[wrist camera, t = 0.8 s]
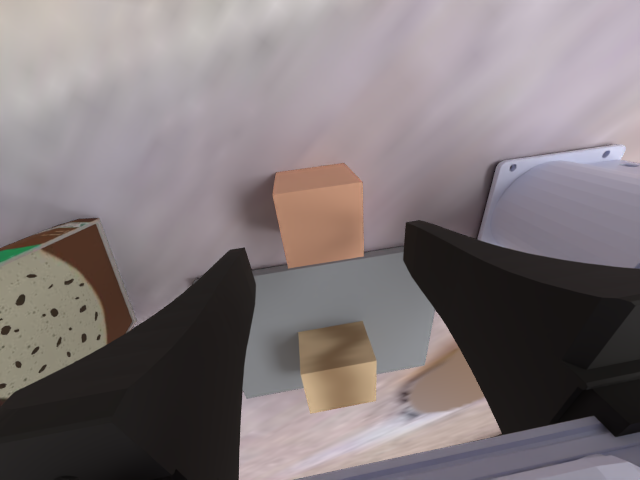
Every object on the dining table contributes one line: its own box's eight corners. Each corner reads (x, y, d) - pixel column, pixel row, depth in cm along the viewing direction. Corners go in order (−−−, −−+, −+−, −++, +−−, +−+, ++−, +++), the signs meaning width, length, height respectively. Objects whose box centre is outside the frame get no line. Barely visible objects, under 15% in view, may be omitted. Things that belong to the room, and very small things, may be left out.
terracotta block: (343, 162, 16) (362, 181, 12) (347, 223, 18) (363, 256, 14) (276, 172, 16) (272, 194, 12) (287, 232, 18) (288, 268, 14)
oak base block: (362, 320, 22) (376, 360, 19) (363, 360, 25) (375, 400, 22) (298, 332, 22) (300, 374, 18) (307, 370, 25) (310, 413, 21)
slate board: (441, 240, 20) (447, 245, 19) (421, 358, 28) (424, 365, 27) (195, 279, 19) (191, 286, 18) (247, 390, 27) (246, 398, 26)
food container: (-30, 189, 14) (-548, 329, 5) (91, 196, 15) (-179, 323, 6) (58, 335, 20) (-118, 513, 11) (141, 332, 21) (38, 495, 12)
